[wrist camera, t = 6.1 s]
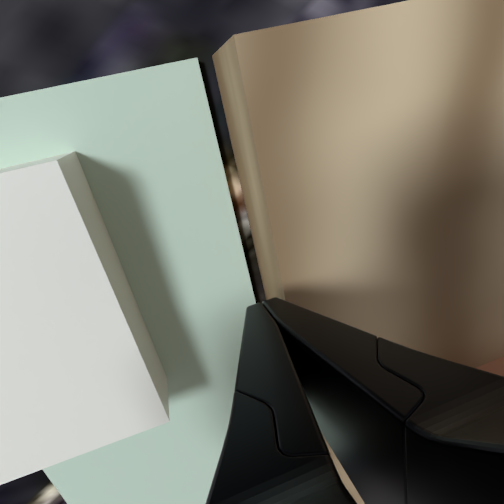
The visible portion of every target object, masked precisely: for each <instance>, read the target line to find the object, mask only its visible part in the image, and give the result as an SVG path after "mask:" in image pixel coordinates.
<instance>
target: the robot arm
mask: <svg viewBox="0 0 504 504" xmlns="http://www.w3.org/2000/svg"><path fill="white" fill-rule="evenodd" d="M234 392H235V393H234V395H233V402H232V408H231V414H230V419H229V424H228V428H227V432H226V436H225V440H224V443H223V447H222V451H221V454H220V457H219V460H218V464H217V467H216V470H215V474H214V477H213V480H212V484H211V487H210V490H209V493H208V497H207V500H206V503H205V504H357V503H356V501H355V500H354V498H353V497H352V496H351V494H350V493H349V491H348V490H347V489H346V487H345V485H344V484H343V482H342V480H341V478H340V476H339V474H338V472H337V470H336V467H335V465H334V463H333V460H332V458H331V456H330V453H329V450H328V448H327V445H326V443H325V440H324V438H325V439H326V441H327V442H328V444H329V446H330V447H331V449H332V451H333V452H334V454H335V456H336V457H337V459H338V460H339V462H340V464H341V465H342V467H343V469H344V470H345V472H346V474H347V475H348V477H349V479H350V480H351V482H352V483H353V485H354V487H355V488H356V490H357V492H358V493H359V495H360V497H361V498H362V500H363V501H364V503H365V504H504V376H500V375H497V374H493V373H490V372H487V371H483V370H480V369H476V368H473V367H470V366H466V365H463V364H459V363H456V362H452V361H449V360H446V359H442V358H439V357H436V356H433V355H429V354H426V353H423V352H420V351H417V350H414V349H411V348H408V347H405V346H403V345H400V344H397V343H394V342H392V341H389V340H386V339H384V338H381V337H378V338H377V336H376V335H373V334H371V333H368V332H365V331H363V330H360V329H358V328H355V327H352V326H350V325H347V324H345V323H342V322H339V321H337V320H334V319H332V318H329V317H327V316H324V315H321V314H319V313H316V312H314V311H311V310H308V309H306V308H303V307H301V306H298V305H295V304H293V303H290V302H288V301H285V300H283V299H280V298H277V297H274V298H271V299H268V300H265V301H263V302H262V303H256V304H253V305H250V306H248V307H247V308H246V314H245V320H244V327H243V334H242V341H241V348H240V355H239V362H238V369H237V376H236V383H235V390H234ZM322 434H323V435H322ZM323 436H324V438H323Z"/></svg>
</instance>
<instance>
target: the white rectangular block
mask: <svg viewBox="0 0 504 504" xmlns="http://www.w3.org/2000/svg"><path fill="white" fill-rule="evenodd" d="M167 422H170V418H169V402H168V386H167V377H166V374H165V372H164V369H163V367H162V364H161V362H160V359H159V357H158V354H157V352H156V349H155V347H154V344H153V342H152V340H151V337H150V335H149V332H148V330H147V327H146V325H145V322H144V320H143V317H142V315H141V312H140V310H139V307H138V305H137V303H136V300H135V298H134V295H133V293H132V290H131V288H130V285H129V283H128V280H127V278H126V275H125V273H124V270H123V268H122V266H121V263H120V261H119V258H118V256H117V253H116V251H115V248H114V246H113V243H112V241H111V238H110V236H109V233H108V231H107V229H106V226H105V224H104V221H103V219H102V216H101V214H100V211H99V209H98V206H97V204H96V201H95V199H94V197H93V194H92V192H91V189H90V187H89V184H88V182H87V179H86V177H85V174H84V172H83V169H82V167H81V164H80V162H79V160H78V157H77V155H76V152H75V151H74V152H70V153H65V154H61V155H56V156H52V157H48V158H43V159H39V160H35V161H30V162H26V163H22V164H17V165H13V166H9V167H4V168H0V485H1V484H4V483H7V482H9V481H12V480H15V479H17V478H20V477H23V476H25V475H28V474H31V473H34V472H36V471H39V470H42V469H44V468H47V467H50V466H52V465H55V464H58V463H60V462H63V461H66V460H68V459H71V458H74V457H76V456H79V455H82V454H84V453H87V452H90V451H92V450H95V449H98V448H100V447H103V446H106V445H108V444H111V443H114V442H116V441H119V440H122V439H124V438H127V437H130V436H133V435H135V434H138V433H141V432H143V431H146V430H149V429H151V428H154V427H157V426H159V425H162V424H165V423H167Z"/></svg>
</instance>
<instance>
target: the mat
mask: <svg viewBox="0 0 504 504" xmlns="http://www.w3.org/2000/svg"><path fill="white" fill-rule="evenodd" d="M74 151H75V152H76V155H77V157H78V160H79V162H80V164H81V167H82V169H83V172H84V174H85V177H86V179H87V182H88V184H89V187H90V189H91V192H92V194H93V197H94V199H95V201H96V204H97V206H98V209H99V211H100V214H101V216H102V219H103V221H104V224H105V226H106V229H107V231H108V233H109V236H110V238H111V241H112V243H113V246H114V248H115V251H116V253H117V256H118V258H119V261H120V263H121V266H122V268H123V270H124V273H125V275H126V278H127V280H128V283H129V285H130V288H131V290H132V293H133V295H134V298H135V300H136V303H137V305H138V307H139V310H140V312H141V315H142V317H143V320H144V322H145V325H146V327H147V330H148V332H149V335H150V337H151V340H152V342H153V344H154V347H155V349H156V352H157V354H158V357H159V359H160V362H161V364H162V367H163V369H164V372H165V374H166V377H167V386H168V402H169V418H170V422H167V423H165V424H162V425H159V426H157V427H154V428H151V429H149V430H146V431H143V432H141V433H138V434H135V435H133V436H130V437H127V438H124V439H122V440H119V441H116V442H114V443H111V444H108V445H106V446H103V447H100V448H98V449H95V450H92V451H90V452H87V453H84V454H82V455H79V456H76V457H74V458H71V459H68V460H66V461H63V462H60V463H58V464H55V465H52V466H50V467H47V468H44V469H43V471H44V472H45V474H46V475H47V476H48V478H49V479H50V480H51V482H52V483H53V485H54V486H55V487H56V489H57V490H58V491H59V493H60V494H61V496H62V497H63V498H64V500H65V501H66V502H67V504H205V503H206V500H207V497H208V493H209V490H210V487H211V484H212V480H213V477H214V474H215V470H216V467H217V464H218V460H219V457H220V454H221V451H222V447H223V443H224V440H225V436H226V432H227V428H228V424H229V419H230V414H231V408H232V402H233V395H234V393H235V392H234V390H235V383H236V376H237V369H238V362H239V355H240V348H241V341H242V334H243V327H244V320H245V314H246V308H247V307H248V306H250V305H253V304H256V301H255V297H254V293H253V289H252V284H251V280H250V276H249V272H248V268H247V264H246V259H245V255H244V251H243V247H242V243H241V238H240V234H239V230H238V226H237V222H236V217H235V213H234V209H233V205H232V201H231V197H230V192H229V188H228V184H227V180H226V176H225V171H224V167H223V163H222V159H221V155H220V150H219V146H218V142H217V138H216V134H215V129H214V125H213V121H212V117H211V113H210V109H209V104H208V100H207V96H206V92H205V88H204V83H203V79H202V75H201V71H200V67H199V62H198V58H193V59H188V60H183V61H178V62H173V63H168V64H163V65H158V66H153V67H148V68H144V69H139V70H134V71H129V72H124V73H119V74H114V75H109V76H104V77H99V78H95V79H90V80H85V81H80V82H75V83H70V84H65V85H60V86H55V87H51V88H46V89H41V90H36V91H31V92H26V93H21V94H16V95H11V96H6V97H2V98H0V168H4V167H9V166H13V165H17V164H22V163H26V162H30V161H35V160H39V159H43V158H48V157H52V156H56V155H61V154H65V153H70V152H74Z"/></svg>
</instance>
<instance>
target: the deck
mask: <svg viewBox="0 0 504 504" xmlns="http://www.w3.org/2000/svg"><path fill="white" fill-rule="evenodd" d="M212 57H213V62H214V66H215V71H216V75H217V80H218V84H219V89H220V93H221V98H222V102H223V107H224V111H225V116H226V120H227V125H228V129H229V134H230V138H231V143H232V147H233V152H234V156H235V161H236V165H237V170H238V174H239V179H240V183H241V188H242V192H243V197H244V201H245V206H246V210H247V215H248V219H249V224H250V228H251V233H252V237H253V242H254V246H255V251H256V255H257V260H258V264H259V269H260V273H261V278H262V282H263V287H264V291H265V296H266V300H268V299H271V298H274V297H277V298H280V299H283V300H285V301H288V302H290V303H293V304H295V305H298V306H301V307H303V308H306V309H308V310H311V311H314V312H316V313H319V314H321V315H324V316H327V317H329V318H332V319H334V320H337V321H339V322H342V323H345V324H347V325H350V326H352V327H355V328H358V329H360V330H363V331H365V332H368V333H371V334H373V335H376V336H377V338H378V337H381V338H384V339H386V340H389V341H392V342H394V343H397V344H400V345H403V346H405V347H408V348H411V349H414V350H417V351H420V352H423V353H426V354H429V355H433V356H436V357H439V358H442V359H446V360H449V361H452V362H456V363H459V364H463V365H466V366H470V367H473V368H477V367H479V366H481V365H484V364H486V363H489V362H491V361H494V360H496V359H498V358H501V357H503V356H504V0H408V1H403V2H398V3H393V4H388V5H383V6H378V7H373V8H368V9H363V10H358V11H353V12H347V13H342V14H337V15H332V16H327V17H322V18H317V19H312V20H307V21H302V22H297V23H291V24H286V25H281V26H276V27H271V28H266V29H261V30H256V31H251V32H246V33H241V34H236V35H233V36H232V37H231V38H230V39H229V40H228V41H227V42H226V43H225V44H224V45H223V46H222V47H221V48H220V49H219V50H218V51H217V52H215V53H214V54H213V55H212ZM322 435H323V434H322ZM323 438H324V436H323ZM324 440H325V443H326V445H327V448H328V450H329V453H330V456H331V458H332V460H333V463H334V465H335V467H336V470H337V472H338V474H339V476H340V478H341V480H342V482H343V484H344V485H345V487H346V489H347V490H348V491H349V493H350V494H351V496H352V497H353V498H354V500H355V501H356V503H357V504H365V503H364V501H363V500H362V498H361V497H360V495H359V493H358V492H357V490H356V488H355V487H354V485H353V483H352V482H351V480H350V479H349V477H348V475H347V474H346V472H345V470H344V469H343V467H342V465H341V464H340V462H339V460H338V459H337V457H336V456H335V454H334V452H333V451H332V449H331V447H330V446H329V444H328V442H327V441H326V439H325V438H324Z"/></svg>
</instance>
